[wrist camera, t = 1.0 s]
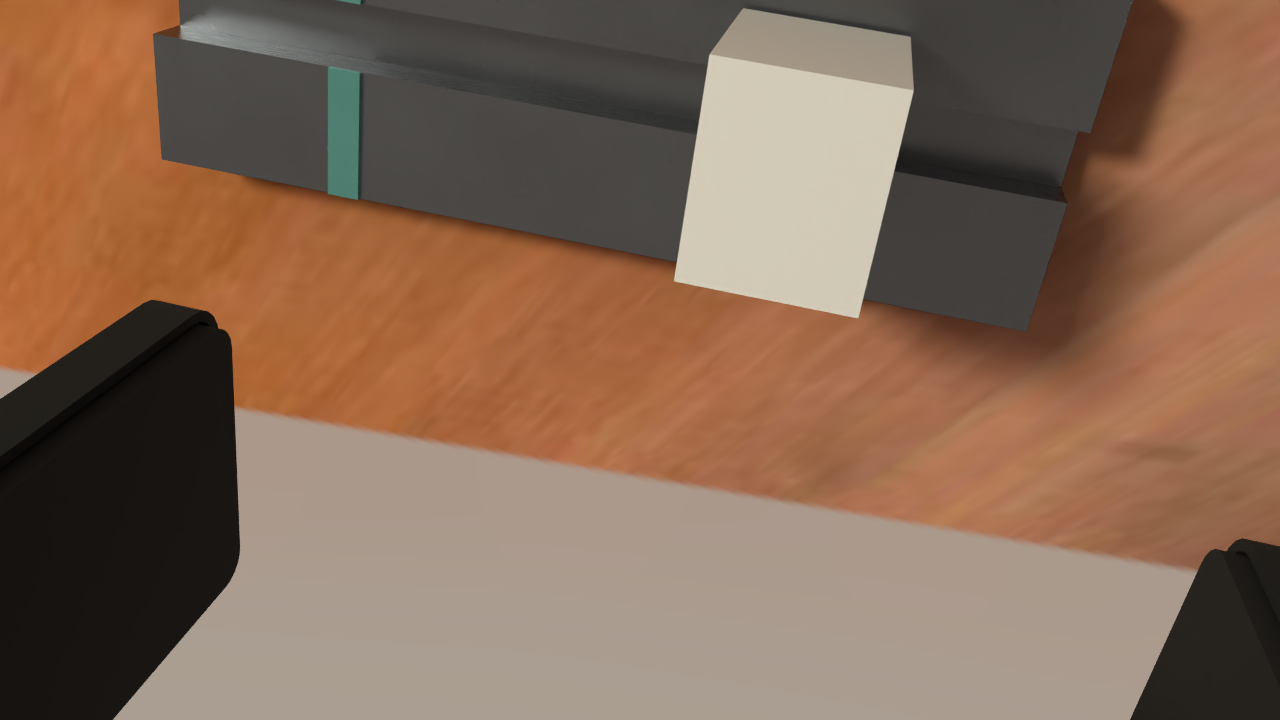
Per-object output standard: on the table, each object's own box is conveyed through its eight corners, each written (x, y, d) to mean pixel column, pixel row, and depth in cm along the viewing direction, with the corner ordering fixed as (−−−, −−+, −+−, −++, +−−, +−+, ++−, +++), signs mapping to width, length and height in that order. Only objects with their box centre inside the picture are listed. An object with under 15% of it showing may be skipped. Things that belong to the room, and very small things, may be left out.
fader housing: (1124, -32, 24) (1140, -20, 23) (1019, 301, 28) (1026, 333, 26) (182, -184, 27) (135, -182, 25) (199, 140, 31) (159, 160, 29)
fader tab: (910, 26, 25) (913, 90, 20) (865, 213, 27) (858, 318, 22) (749, -1, 25) (709, 54, 20) (717, 185, 27) (673, 281, 22)
